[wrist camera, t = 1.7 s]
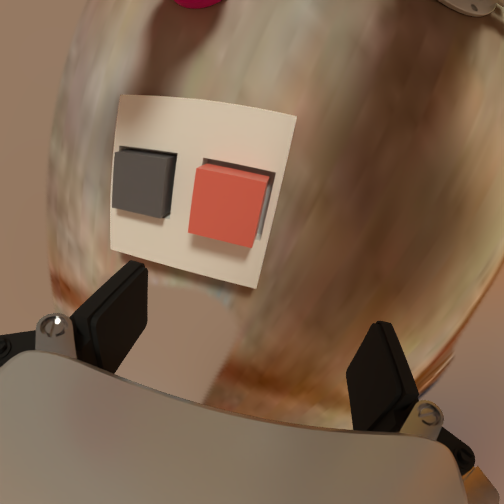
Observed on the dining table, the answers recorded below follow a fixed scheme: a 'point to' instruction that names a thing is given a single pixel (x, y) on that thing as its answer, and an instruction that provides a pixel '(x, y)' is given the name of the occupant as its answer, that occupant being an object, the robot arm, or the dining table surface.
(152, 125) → the switch panel
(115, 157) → the button black
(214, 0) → the pepper mill
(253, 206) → the button red
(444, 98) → the dining table surface
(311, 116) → the dining table surface
